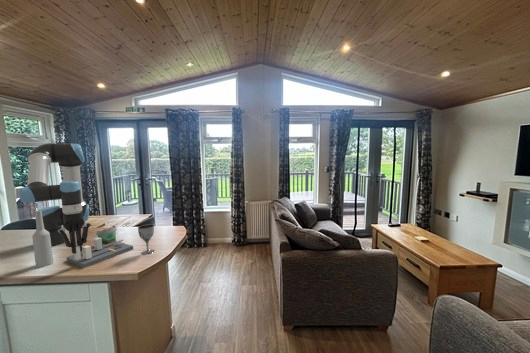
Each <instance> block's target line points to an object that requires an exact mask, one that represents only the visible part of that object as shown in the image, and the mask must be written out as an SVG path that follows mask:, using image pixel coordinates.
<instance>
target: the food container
mask: <svg viewBox="0 0 530 353" xmlns="http://www.w3.org/2000/svg"><path fill="white" fill-rule="evenodd" d="M117 230H118V228H117V227H116V225H112V226H111V227H108V228H105V229H103V230H97V231H96V235H97V238H98V237H99V238H102V246H103V245H106V244H109V243H112V242H115V241H116V240H117V232H116V231H117Z"/></svg>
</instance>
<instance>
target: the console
mask: <svg viewBox="0 0 530 353" xmlns="http://www.w3.org/2000/svg"><path fill="white" fill-rule="evenodd" d="M102 247H103V249H100V250H96V249H94V248H91V252H92V258H89V259H84V258H83V252H82V251H81V252H80V254H81V259H78V260H77V259H75V255H74V254H73V255H70V256H66V262H68V263H71V264H73V265H76V266H78V267H80V268H83V269H85V268H88V267H90V266H94V265H95V264H99V263H101V262H104V261H107V260H109V259H111V258H115V257H117V256H120V255H123V254H126V253H128V252H130V251H132V250H134V246H133V245H130V244H127V243H125V240H124V239H122V240H121V239H120V240H118V241H115V242H112V243H109V244H106V245H103V246H102Z"/></svg>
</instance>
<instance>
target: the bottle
mask: <svg viewBox="0 0 530 353" xmlns="http://www.w3.org/2000/svg"><path fill="white" fill-rule="evenodd" d="M34 213H35V218H36V219H35V224H36V225H35V226H36V231H34V233H33V234H32V237H31V238H32V245H33V253H34V263H35V268H44V267H48V266H50V265H52V264H54V256H53V250H52V247H53V246H51V239H50V233H49V232H48V231H47V230H45V229H44V224H43V218H42V211H38V210H35V211H34Z"/></svg>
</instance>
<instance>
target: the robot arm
mask: <svg viewBox="0 0 530 353" xmlns="http://www.w3.org/2000/svg"><path fill="white" fill-rule="evenodd" d="M27 156H28V157H27V162H28V163H29V168H28V169H29V170H28V177H27V184H26V186H24V187H20V188H19V198H20V201H21V202H22V203H23V204H24V203H25V204H27V203H28V204H29V203H39V202H47V201H56V200H57V201H58V200H61V206H59V205H54V206H52V205H51V206H48V207H43V208H40V209H37V211H42V218H43V224H44V229H45V230H47V231H48V232H49V233H50V239H51V247H53V246H58V245H60V244H62V243H63V244H65V246H66V247H67V248H70V249H71V254H73V255H75V259H77V260H78V259H81V254H80V253H81V252H82V247H83V244H85V243H87V238H88V232H89V228H90V226H91V223H90V222H87V221H89V215H90V204H88V203H87V202H86V201H85V200H84V199H83V190H82V189H83V188H82V178H81V177H82V176H81V166H82V165H83V163H84V162H85V157H84V153H83V149H82V146H81V144H79V143H69V142H67V143H66V142H65V143H63V142H62V143H60V142H59V143H52V142H51V143H49V142H48V143H44V144H41V145H40V144H39V146H36V147H34V148H33V149H32V150H31V151H30V152H29V154H28V155H27ZM52 163H54V164H56V163H57V164H58V166H59V167H60V168H61V169H62V177H63V181H61V182H59V184H51V185H50V184H49V174H50V173H49V172H50V171H49V170H50V169H49V168H50V167H49V166H50V164H52ZM34 220H36V217H35V218H34ZM66 231H67V232H68V234H69V237H68V235H67V233H66ZM57 244H58V245H57Z"/></svg>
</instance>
